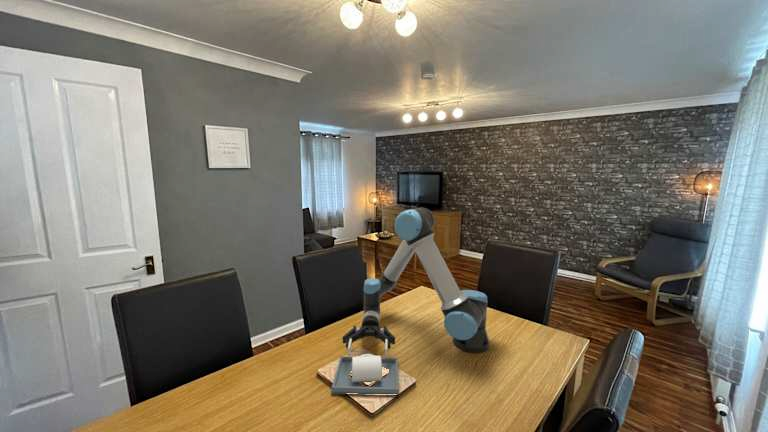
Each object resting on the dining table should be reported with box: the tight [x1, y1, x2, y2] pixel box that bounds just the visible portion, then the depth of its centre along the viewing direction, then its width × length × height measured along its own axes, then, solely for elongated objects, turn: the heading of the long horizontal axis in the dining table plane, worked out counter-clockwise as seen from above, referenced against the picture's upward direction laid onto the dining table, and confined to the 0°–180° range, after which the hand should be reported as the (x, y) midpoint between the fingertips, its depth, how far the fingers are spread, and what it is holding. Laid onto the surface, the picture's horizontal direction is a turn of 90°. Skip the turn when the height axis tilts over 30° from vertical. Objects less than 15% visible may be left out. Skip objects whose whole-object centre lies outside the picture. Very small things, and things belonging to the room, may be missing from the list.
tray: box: [331, 355, 400, 396], centre depth 107 cm, size 22×17×2 cm
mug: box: [351, 353, 382, 383], centre depth 107 cm, size 12×10×8 cm
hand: (367, 352), depth 108 cm, fingers open, 13 cm apart
